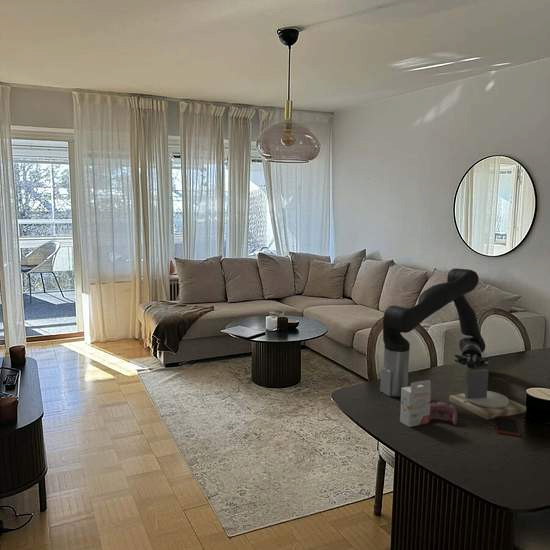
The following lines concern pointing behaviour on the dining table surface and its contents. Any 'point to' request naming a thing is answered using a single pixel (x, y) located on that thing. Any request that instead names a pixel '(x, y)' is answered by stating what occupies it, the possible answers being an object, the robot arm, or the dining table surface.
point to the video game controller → (443, 407)
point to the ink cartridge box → (415, 403)
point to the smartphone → (507, 426)
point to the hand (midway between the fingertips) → (471, 365)
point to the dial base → (487, 411)
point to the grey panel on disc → (482, 390)
